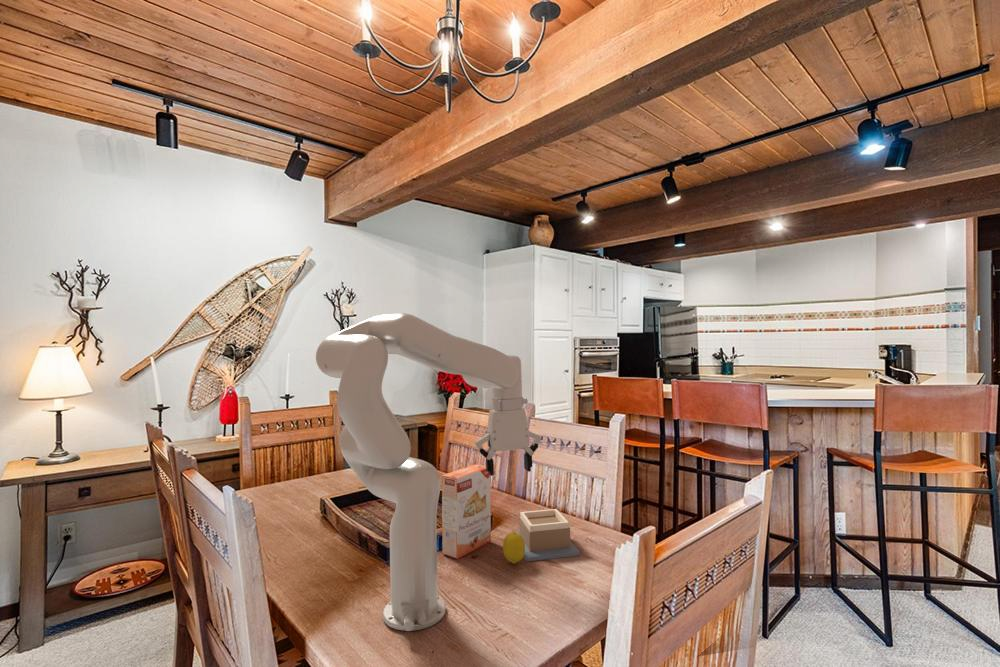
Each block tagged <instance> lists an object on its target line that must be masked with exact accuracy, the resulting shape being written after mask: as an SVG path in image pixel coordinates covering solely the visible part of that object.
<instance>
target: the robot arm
mask: <svg viewBox="0 0 1000 667" xmlns="http://www.w3.org/2000/svg"><path fill="white" fill-rule="evenodd" d="M389 355H399V356H401V357H404V358H407V359H409V360H411V361H414V362H417V363H419V364H421V365H423V366H426V367H427V368H430V369H433V370H435V371H438V372H442V373H446V374H452V375H460V376H461V377H462V379H463V380H464V382H465V383H466V384H467V385H468V386H470V387H474V388H481V389H482V388H483V389H491V390H492V391H491V394H492V395H491V396H492V409H490V410H489V412H488V416H487V417H488V420H487V429H486V430H487V432H486V433H487V434H485V435H483V436H482V437H480V438H478V439H477V440H476V441H474V445H475V447H476V449H477V450H478V452H479V453H480V454H481V456H483V457H484V458H485V466H486V471H487V472H488V473H489V474H490V475H491V477H493V476H494V475H495V466H494V459H493V457H494V456H495V454H496V452H507V451H517V450H519V451H520V450H524V452H523V453H524V454H523V460H524V461H523V466H524V469H525V470H526V471H527V472H532V469H531V468H533V456H534V453H535V452H536V451H537V449H538V448H539V445H540V443H541V441H542V436H541V435H539V434H537V433H534V432H532V431H530V430H529V424H528V418H527V412H526V410H525V408H523V407H524V405H527V404H528V403H529V402H528V401H529V400H528V398H524V397H523V387H522V386H523V384H522V383H523V381H522V377H523V375H522V361H521V360H522V359H521V357H519V356H518V355H511V354H510V355H507V354H506V353H503V352H501V351H500V350H497V349H495V348H493V347H490V346H488V345H484V344H481V343H478V342H475V341H472V340H468V339H466V338H463V337H460V336H456V335H454V334H452V333H450V332H449V333H448V332H447V331H445V330H443V329H441V328H439V327H437V326H435V325H433V324H431V323H430V322H427V321H426V320H424V319H422V318H419V317H417V316H416V315H413V314H410V313H403V312H402V313H399V312H398V313H389V314H379V315H376V316H373V317H371V318H368V319H366V320H363V321H360V322H359V323H357V324H353V325H352V326H349V327H347V328H345V329H342V330H341V331H338V332H335V333H333V334H331V335H328V336H327V337H326V338H325V339H323V340H322V341H321V343H320V344H319V345H318V347H317V349H316V352H315V361H316V364H317V367H318V369H319V370H320V372H322V373H323V374H325V375H326V376H328V377H330V378H336V379H340V380H339V385H338V390H337V391H338V392H337V396H336V397H337V398H336V407H337V412H338V415H339V417H340V419H341V421H342V423H343V424H344V427H343V428H342V430H341V432H340V434H339V448H340V452H341V455H342V456H343V458H344V460H345V461H346V463H347V464H348V466H349V467H350V468H351V470H352V471H353V472H354V473H355V475H356V476H357V478H358V479H359V481H360V482H361V483H362V484H363V485H364V487H365V488H366V489H367V490H368V491H369V492H370V493H371V494H372V495H374V496H375V497H378V498H380V499H382V500H385V501H388V502H391V503H393V504H395V509H394V510H395V511H394V513H393V515H392V518H391V520H390V525H389V569H390V570H389V571H390V574H389V578H390V579H389V580H390V581H389V582H390V583H389V584H390V601H389V602H388V603H387V604H386V605H385V606H384V607H383V612H382V619H383V621H384V623H385V625H387V626H388V627H390V628H391V629H394V630H396V631H397V630H398V631H403V632H405V631H406V632H414V631H419V630H423V629H428V628H430V627H432V626H435V625H436V624H437V623H439V622H440V621H441V620H442V619H443V618H444V616H445V615H446V603H445V601H444V599H443V598H441V596H438V594H439V593H438V590H439V589H438V539H437V538H438V537H437V535H438V534H437V515H438V514H437V512H438V505H439V498H440V492H441V488H442V479H441V476H440V473H439V471H438V470H437V468H436V467H435V466H434V465H433V464H432V463H430V462H428V461H425V460H423V459H420V458H415V457H411V456H410V455H411V451H412V450H411V449H412V448H411V447H412V446H411V441H410V439H409V436H408V434H407V432H406V431H405V429H404V428H403V427H402V425H401V423H400V421H398V419H397V417H396V416H395V415H394V413H393V412H392V409H391V408H390V407H389V405H388V403H387V402H386V400H385V398H384V395H383V389H382V388H383V380H384V375H385V374H386V373H385V372H386V370H387V367H388V362H389ZM530 438H531V439H533V442H532V444H531V445H530ZM485 443H487V447H488V448H487V450H485V449H484V447H483V445H484V444H485Z"/></svg>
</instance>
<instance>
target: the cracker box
mask: <svg viewBox="0 0 1000 667" xmlns="http://www.w3.org/2000/svg"><path fill="white" fill-rule="evenodd" d="M491 477H492V476H491V475H490V474H489V473H488V472H487V471H486V465H480V464H473V465H469V466H467V467H463V468H461V469H460V468H459V469H457V470H454V471H451V472H448V473H445V474H442V475H441V496H442V497H441V508H442V510H441V517H442V518H441V519H442V520H441V521H442V523H441V525H442V526H441V527H442V528H441V530H442V531H441V532H442V533H441V534H442V539H441V540H442V542H441V544H442V548H441V549H442V553H441V554H442V555H444V556H448V557H451V558H454V559H456V560H459V559H460V558H462V557H464V556H466V555H468V554H470V553H472V552H473V551H475V550H477V549H479V548H482V547H483V546H485V545H487V544H489V543H490V542H491V541H492V534H491V529H492V528H491V526H492V524H491V523H492V522H491V519H492V518H491V517H492V516H491V512H492V511H491V508H492V505H491V504H492V503H491V494H492V493H491V488H492V487H491V486H492V485H491Z"/></svg>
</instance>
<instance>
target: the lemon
mask: <svg viewBox="0 0 1000 667" xmlns="http://www.w3.org/2000/svg"><path fill="white" fill-rule="evenodd" d="M502 552H503V555H504V558H506V560H507V561H508V562H510V563H512V564H513V565H516V563H518V562H520V561H521V560H522V559H524V557H525V556H524V553H525V543H524V540H523V538H522V536H521V535H520V534H518V533H516V532H514V531H512V532H510V533H508V534H507V535H506V536H505V537H504V539H503V542H502Z"/></svg>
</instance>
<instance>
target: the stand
mask: <svg viewBox="0 0 1000 667" xmlns="http://www.w3.org/2000/svg"><path fill="white" fill-rule="evenodd" d="M519 516H520V517H519V530H515V531H514V532H516V533H518V534H520V535H521V536H522V538H523V540H524V543H525V553H524V556H523V557H524V558H525V561H527V562H535V561H542V560H543V561H544V560H551V559H561V558H570V557H578V556H579V557H580V556H581V551H580V550H579V548H578V547H576V545H575V544H574V543H573V542H572V540H571V527H570V522H569V521H568V520H567V519H566V518H565V516H564V515H563V513H561V512H560V511H559V510H558V509H557V508H553V509H552V508H549V509H541V510H540V509H539V510H529V511H520V512H519Z"/></svg>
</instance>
